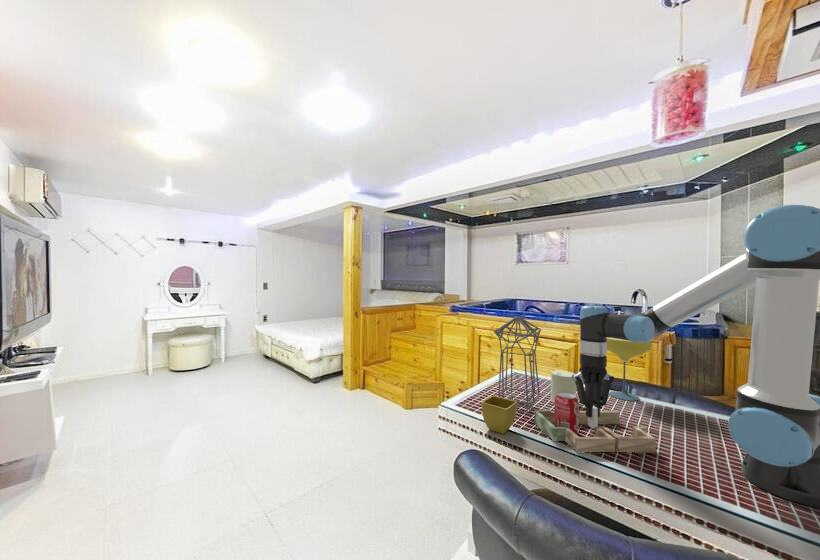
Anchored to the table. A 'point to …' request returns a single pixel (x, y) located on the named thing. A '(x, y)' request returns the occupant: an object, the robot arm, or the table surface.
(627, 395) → the cocktail glass
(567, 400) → the soda can
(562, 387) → the can
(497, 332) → the geometric lantern
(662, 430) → the table surface
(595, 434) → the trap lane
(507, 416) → the flower pot
